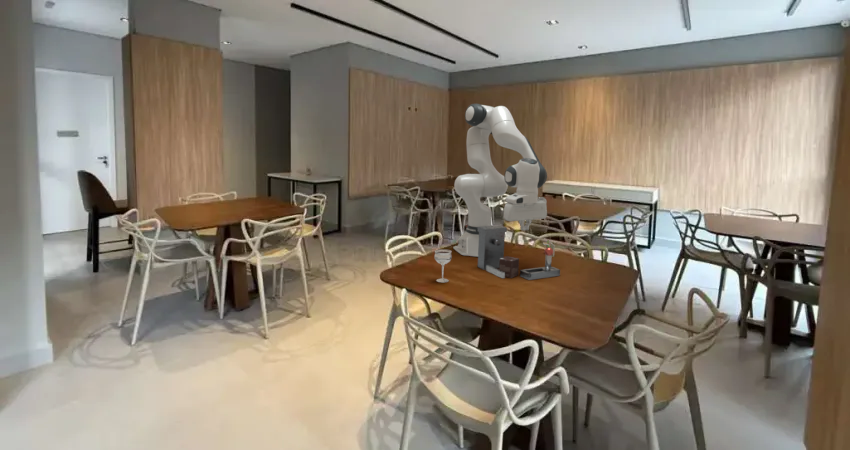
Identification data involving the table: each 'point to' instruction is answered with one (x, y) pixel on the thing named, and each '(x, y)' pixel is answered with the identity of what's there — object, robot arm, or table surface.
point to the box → (509, 266)
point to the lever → (548, 259)
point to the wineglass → (442, 260)
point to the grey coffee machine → (491, 248)
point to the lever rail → (539, 273)
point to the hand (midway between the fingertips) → (524, 230)
